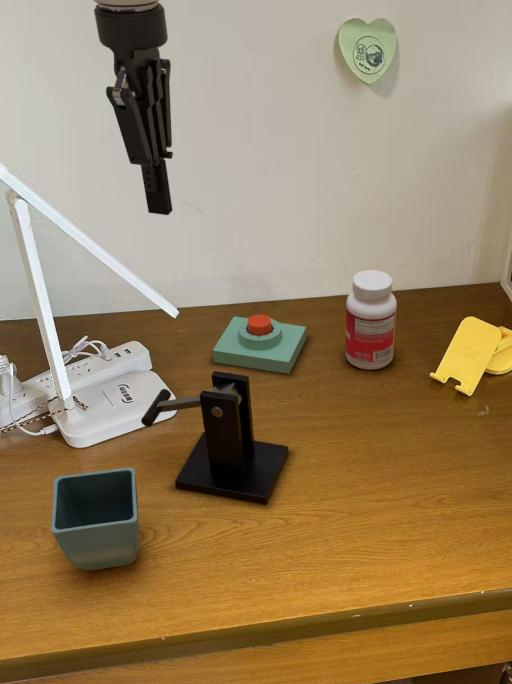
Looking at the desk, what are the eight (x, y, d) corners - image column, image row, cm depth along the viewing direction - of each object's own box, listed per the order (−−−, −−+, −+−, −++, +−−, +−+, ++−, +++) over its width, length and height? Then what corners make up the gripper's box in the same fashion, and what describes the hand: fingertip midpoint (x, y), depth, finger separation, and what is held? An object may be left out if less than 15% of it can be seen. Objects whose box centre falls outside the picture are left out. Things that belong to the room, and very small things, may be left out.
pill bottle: (353, 340, 123) (355, 263, 114) (398, 349, 122) (404, 271, 113) (338, 366, 118) (339, 287, 109) (385, 375, 117) (390, 296, 107)
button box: (213, 362, 118) (211, 340, 115) (235, 327, 125) (233, 306, 122) (289, 374, 116) (288, 351, 114) (306, 338, 123) (306, 316, 121)
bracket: (176, 488, 98) (159, 402, 88) (204, 438, 105) (191, 354, 95) (266, 504, 96) (259, 419, 87) (288, 453, 103) (285, 368, 94)
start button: (244, 335, 117) (244, 325, 116) (252, 322, 120) (251, 312, 118) (267, 338, 117) (267, 328, 115) (274, 325, 119) (274, 316, 118)
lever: (146, 430, 95) (137, 415, 93) (165, 401, 99) (156, 386, 98) (231, 419, 90) (223, 402, 89) (247, 389, 95) (239, 373, 93)
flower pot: (147, 519, 94) (134, 465, 88) (150, 574, 88) (137, 520, 81) (72, 530, 92) (53, 476, 86) (70, 587, 86) (50, 533, 80)
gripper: (135, 21, 79) (168, 237, 95) (183, -7, 88) (205, 194, 104) (67, 14, 80) (111, 229, 96) (122, -13, 89) (153, 188, 105)
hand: (160, 211), depth 100 cm, fingers closed
